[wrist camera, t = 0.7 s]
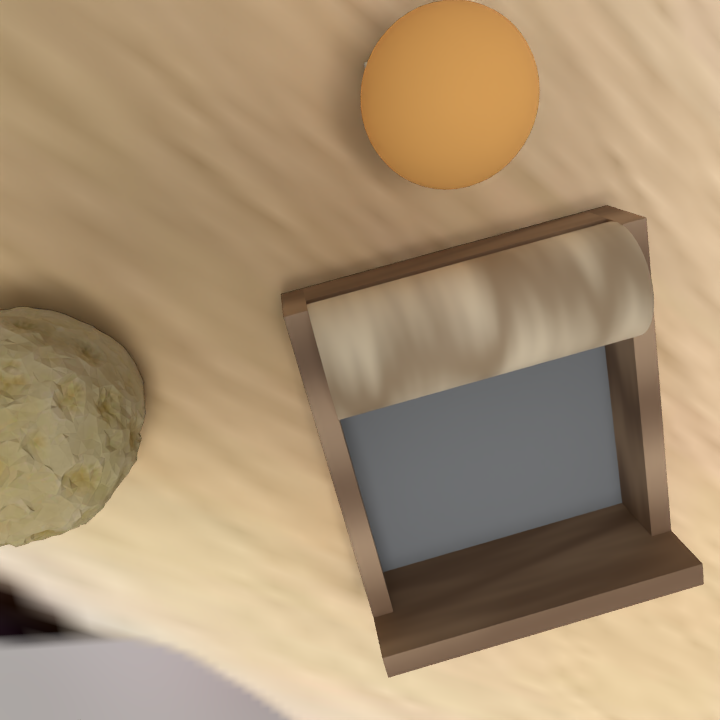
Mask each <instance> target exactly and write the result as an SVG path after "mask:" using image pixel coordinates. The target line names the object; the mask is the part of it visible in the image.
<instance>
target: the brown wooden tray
mask: <svg viewBox="0 0 720 720" xmlns="http://www.w3.org/2000/svg"><path fill="white" fill-rule="evenodd" d="M281 299H282V308H283V317H284V320H285V324H286V327H287V330H288V334H289V337H290V340H291V344H292V347H293V350H294V354H295V357H296V360H297V364H298V367H299V370H300V374H301V377H302V381H303V384H304V387H305V391H306V394H307V397H308V401H309V404H310V407H311V411H312V414H313V417H314V421H315V424H316V427H317V431H318V434H319V437H320V441H321V444H322V447H323V451H324V454H325V457H326V461H327V464H328V467H329V471H330V474H331V477H332V481H333V484H334V487H335V491H336V494H337V497H338V501H339V504H340V507H341V511H342V514H343V517H344V521H345V524H346V527H347V531H348V534H349V537H350V541H351V544H352V547H353V551H354V554H355V557H356V561H357V564H358V567H359V571H360V574H361V577H362V581H363V584H364V587H365V591H366V594H367V597H368V601H369V604H370V607H371V611H372V614H373V617H374V622H375V626H376V631H377V635H378V640H379V644H380V649H381V654H382V658H383V662H384V665H385V668H386V671H387V675H388V678H389V677H392V676H395V675H399V674H402V673H406V672H409V671H412V670H416V669H419V668H422V667H426V666H429V665H433V664H436V663H439V662H443V661H446V660H449V659H453V658H456V657H460V656H463V655H466V654H470V653H473V652H476V651H480V650H483V649H487V648H490V647H493V646H497V645H500V644H503V643H507V642H510V641H514V640H517V639H520V638H524V637H527V636H530V635H534V634H537V633H541V632H544V631H547V630H551V629H554V628H557V627H561V626H564V625H568V624H571V623H574V622H578V621H581V620H584V619H588V618H591V617H595V616H598V615H601V614H605V613H608V612H611V611H615V610H618V609H622V608H625V607H628V606H632V605H635V604H638V603H642V602H645V601H649V600H652V599H655V598H659V597H662V596H665V595H669V594H672V593H676V592H679V591H682V590H686V589H689V588H692V587H696V586H699V585H703V584H704V582H703V565H702V563H701V562H700V561H699V560H698V559H697V558H696V557H695V555H694V554H693V553H692V552H691V551H690V550H689V549H688V548H687V547H686V546H685V545H684V544H683V543H682V542H681V541H680V540H679V539H678V537H677V536H676V535H675V534H674V533H673V532H672V531H671V524H670V511H669V498H668V486H667V473H666V460H665V448H664V435H663V422H662V409H661V397H660V384H659V371H658V359H657V346H656V333H655V321H654V294H653V286H652V280H651V270H650V257H649V245H648V232H647V219H646V218H645V217H642V216H639V215H636V214H633V213H630V212H627V211H623V210H620V209H617V208H614V207H611V206H608V205H607V206H603V207H599V208H596V209H592V210H588V211H585V212H581V213H577V214H574V215H570V216H566V217H563V218H559V219H555V220H552V221H548V222H544V223H541V224H537V225H533V226H530V227H526V228H522V229H519V230H515V231H511V232H508V233H504V234H500V235H497V236H493V237H489V238H486V239H482V240H478V241H475V242H471V243H467V244H464V245H460V246H456V247H453V248H449V249H445V250H442V251H438V252H434V253H431V254H427V255H423V256H420V257H416V258H412V259H409V260H405V261H401V262H398V263H394V264H390V265H387V266H383V267H379V268H376V269H372V270H368V271H365V272H361V273H357V274H354V275H350V276H346V277H343V278H339V279H335V280H332V281H328V282H324V283H321V284H317V285H313V286H310V287H306V288H302V289H299V290H295V291H291V292H288V293H284V294H281ZM604 345H605V352H606V361H607V370H608V379H609V389H610V398H611V407H612V416H613V425H614V434H615V443H616V452H617V461H618V470H619V479H620V488H621V497H622V503H620V504H616V505H613V506H610V507H606V508H603V509H599V510H596V511H592V512H589V513H585V514H582V515H579V516H575V517H572V518H568V519H565V520H561V521H558V522H554V523H551V524H548V525H544V526H541V527H537V528H534V529H530V530H527V531H523V532H520V533H517V534H513V535H510V536H506V537H503V538H499V539H496V540H492V541H489V542H486V543H482V544H479V545H475V546H472V547H468V548H465V549H461V550H458V551H455V552H451V553H448V554H444V555H441V556H437V557H434V558H430V559H427V560H424V561H420V562H417V563H413V564H410V565H406V566H403V567H399V568H396V569H393V570H389V571H386V572H383V570H382V566H381V563H380V559H379V556H378V552H377V549H376V545H375V542H374V538H373V534H372V531H371V527H370V524H369V520H368V517H367V513H366V510H365V506H364V503H363V499H362V496H361V492H360V489H359V485H358V482H357V478H356V475H355V471H354V467H353V464H352V460H351V457H350V453H349V450H348V446H347V443H346V439H345V436H344V432H343V429H342V425H341V422H340V420H341V419H344V418H348V417H351V416H355V415H359V414H362V413H366V412H369V411H373V410H376V409H380V408H384V407H387V406H391V405H394V404H398V403H401V402H405V401H408V400H412V399H416V398H419V397H423V396H426V395H430V394H433V393H437V392H441V391H444V390H448V389H451V388H455V387H458V386H462V385H465V384H469V383H473V382H476V381H480V380H483V379H487V378H490V377H494V376H498V375H501V374H505V373H508V372H512V371H515V370H519V369H522V368H526V367H530V366H533V365H537V364H540V363H544V362H547V361H551V360H555V359H558V358H562V357H565V356H569V355H572V354H576V353H579V352H583V351H587V350H590V349H594V348H597V347H601V346H604Z"/></svg>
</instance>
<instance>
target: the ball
mask: <svg viewBox="0 0 720 720" xmlns="http://www.w3.org/2000/svg"><path fill="white" fill-rule="evenodd" d="M539 90H540V89H539V76H538V71H537V66H536V63H535V60H534V57H533V54H532V52H531V50H530V48H529V46H528V44H527V42H526V40H525V39H524V37H523V36H522V34H521V33H520V32H519V30H518V29H517V28H516V27H515V26H514V25H513V24H512V23H511V22H510V21H509V20H508V19H507V18H506V17H504V16H503V15H501V14H500V13H498V12H497V11H495V10H493V9H491V8H489V7H487V6H484V5H482V4H479V3H475V2H472V1H466V0H443V1H438V2H432V3H429V4H426V5H423V6H420V7H418V8H416V9H414V10H412V11H410V12H408V13H407V14H406V15H404V16H403V17H401V18H400V19H398V20H397V21H396V22H395V23H394V24H393V25H392V26H391V27H390V28H389V29H388V30H387V31H386V32H385V34H384V35H383V36H382V37H381V38H380V40H379V41H378V43H377V44H376V46H375V47H374V49H373V51H372V53H371V55H370V57H369V59H368V62H367V65H366V68H365V71H364V75H363V79H362V84H361V96H360V97H361V112H362V118H363V123H364V126H365V130H366V133H367V135H368V137H369V140H370V142H371V144H372V145H373V147H374V149H375V150H376V152H377V153H378V155H379V156H380V157H381V159H382V160H383V161H384V162H385V163H386V164H387V165H388V166H389V167H390V168H391V169H392V170H393V171H394V172H396V173H397V174H399V175H400V176H401V177H403V178H405V179H407V180H408V181H410V182H413V183H415V184H418V185H421V186H424V187H429V188H433V189H444V190H447V189H458V188H464V187H468V186H471V185H474V184H477V183H480V182H482V181H484V180H486V179H488V178H490V177H492V176H493V175H495V174H496V173H498V172H499V171H500V170H502V169H503V168H504V167H505V166H506V165H507V164H508V163H509V162H510V161H511V160H512V159H513V158H514V157H515V156H516V155H517V153H518V152H519V151H520V149H521V148H522V146H523V145H524V143H525V141H526V140H527V138H528V136H529V134H530V132H531V129H532V127H533V125H534V121H535V118H536V115H537V110H538V104H539Z"/></svg>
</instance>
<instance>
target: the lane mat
mask: <svg viewBox="0 0 720 720" xmlns="http://www.w3.org/2000/svg"><path fill="white" fill-rule="evenodd" d="M340 422H341V425H342V429H343V432H344V436H345V439H346V443H347V446H348V450H349V453H350V457H351V460H352V464H353V467H354V471H355V475H356V478H357V482H358V485H359V489H360V492H361V496H362V499H363V503H364V506H365V510H366V513H367V517H368V520H369V524H370V527H371V531H372V534H373V538H374V542H375V545H376V549H377V552H378V556H379V559H380V563H381V566H382V570H383V572H386V571H389V570H393V569H396V568H399V567H403V566H406V565H410V564H413V563H417V562H420V561H424V560H427V559H430V558H434V557H437V556H441V555H444V554H448V553H451V552H455V551H458V550H461V549H465V548H468V547H472V546H475V545H479V544H482V543H486V542H489V541H492V540H496V539H499V538H503V537H506V536H510V535H513V534H517V533H520V532H523V531H527V530H530V529H534V528H537V527H541V526H544V525H548V524H551V523H554V522H558V521H561V520H565V519H568V518H572V517H575V516H579V515H582V514H585V513H589V512H592V511H596V510H599V509H603V508H606V507H610V506H613V505H616V504H620V503H622V497H621V488H620V479H619V470H618V461H617V452H616V443H615V434H614V425H613V416H612V407H611V398H610V389H609V379H608V370H607V361H606V352H605V345H604V346H601V347H597V348H594V349H590V350H587V351H583V352H579V353H576V354H572V355H569V356H565V357H562V358H558V359H555V360H551V361H547V362H544V363H540V364H537V365H533V366H530V367H526V368H522V369H519V370H515V371H512V372H508V373H505V374H501V375H498V376H494V377H490V378H487V379H483V380H480V381H476V382H473V383H469V384H465V385H462V386H458V387H455V388H451V389H448V390H444V391H441V392H437V393H433V394H430V395H426V396H423V397H419V398H416V399H412V400H408V401H405V402H401V403H398V404H394V405H391V406H387V407H384V408H380V409H376V410H373V411H369V412H366V413H362V414H359V415H355V416H351V417H348V418H344V419H341V420H340Z"/></svg>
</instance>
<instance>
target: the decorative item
mask: <svg viewBox="0 0 720 720" xmlns="http://www.w3.org/2000/svg"><path fill="white" fill-rule="evenodd" d="M143 384H144V383H143V380H142V378H141V376H140V373H139V371H138V369H137V366H136V364H135V363H134V361H133V360H132V358H131V357H130V355H129V354H128V352H127V351H126V350H125V348H124V347H123V346H122V345H121V344H119V343H118V342H116V341H115V340H114V339H112V338H111V337H110V336H108V335H106V334H104V333H102V332H100V331H98V330H97V329H95V327H94V326H91V325H89V324H86V323H83V322H81V321H79V320H76V319H74V318H72V317H70V316H68V315H65V314H63V313H59V312H55V311H52V310H44V309H36V308H30V307H17V308H13V309H10V310H0V546H4V545H7V544H10V545H13V546H15V547H18V546H22V545H25V544H28V543H30V542H32V541H37V540H43V539H46V538H49V537H51V536H56V535H61V534H63V533H65V532H67V531H69V530H71V529H74V528H77V527H79V526H80V525H83V524H86V523H87V522H88V521H89V520H91V519H92V518H93V517H94V516H95V515H96V514H97V513H98V512H99V511H100V510H101V509H103V508H104V506H105V503H106V502H107V501H108V500H109V499H110V498H111V496H112V494H113V492H114V491H115V489H116V488H117V487H118V486H119V484H120V483H121V482H122V480H123V479H124V478H125V477H126V476H127V474H128V473H129V471H130V469H131V467H132V466H133V464H134V463H135V462H136V461H137V452H138V449H139V446H140V442H141V439H142V438H141V436H140V430H141V428H142V425H143V422H144V416H145V401H144V391H143Z"/></svg>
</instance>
